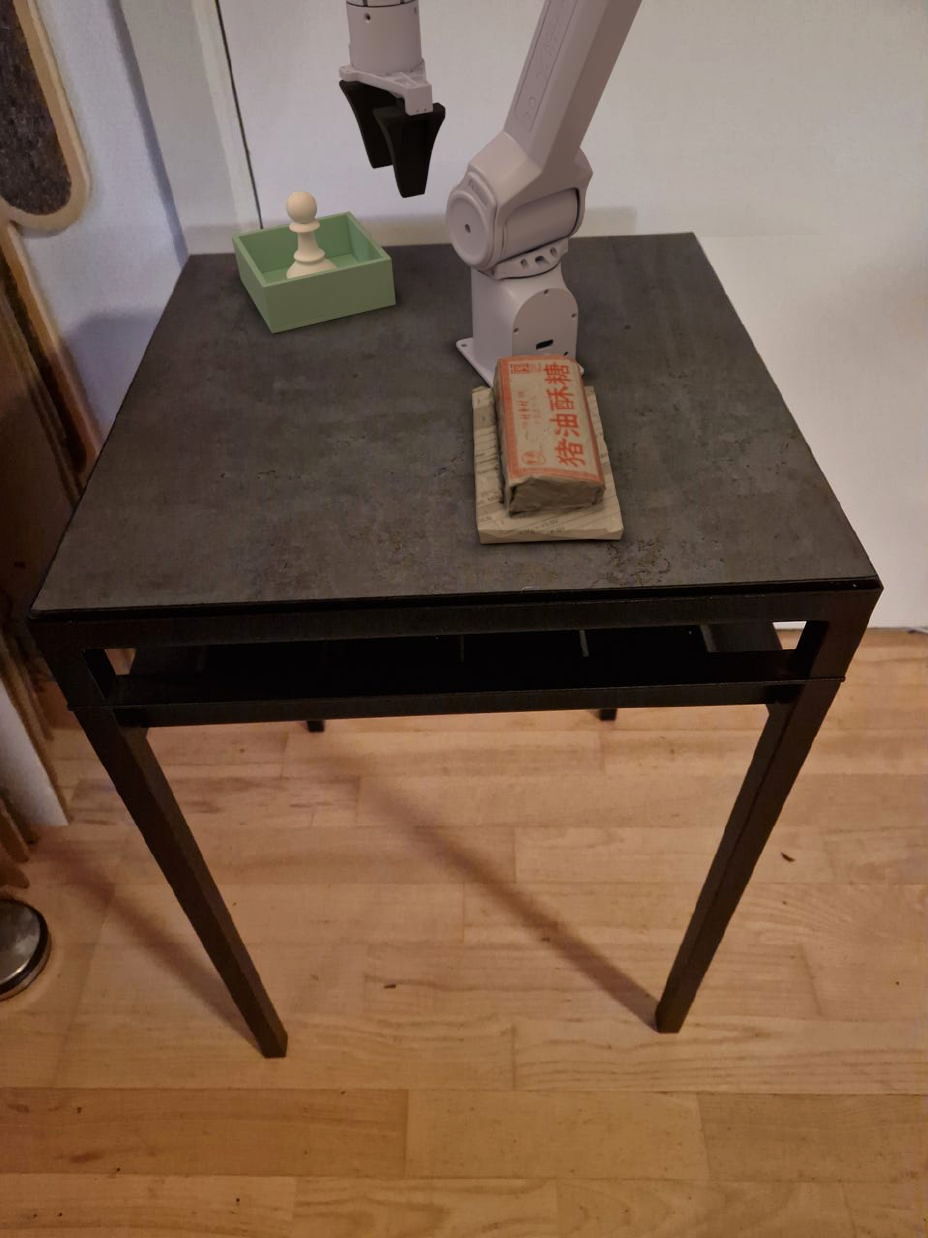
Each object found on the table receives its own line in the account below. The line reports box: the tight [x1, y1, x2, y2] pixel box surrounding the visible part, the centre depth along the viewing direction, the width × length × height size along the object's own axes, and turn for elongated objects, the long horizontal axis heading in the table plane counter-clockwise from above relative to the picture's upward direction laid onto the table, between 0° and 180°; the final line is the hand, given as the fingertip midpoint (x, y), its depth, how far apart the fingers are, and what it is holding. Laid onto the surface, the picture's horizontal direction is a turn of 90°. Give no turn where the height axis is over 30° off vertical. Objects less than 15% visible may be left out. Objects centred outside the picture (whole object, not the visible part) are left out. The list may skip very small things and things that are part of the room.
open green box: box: [230, 210, 397, 334], centre depth 86 cm, size 12×12×4 cm
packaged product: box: [471, 354, 625, 545], centre depth 65 cm, size 18×5×10 cm
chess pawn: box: [285, 190, 337, 279], centre depth 84 cm, size 5×5×9 cm
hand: (397, 179), depth 80 cm, fingers open, 7 cm apart
